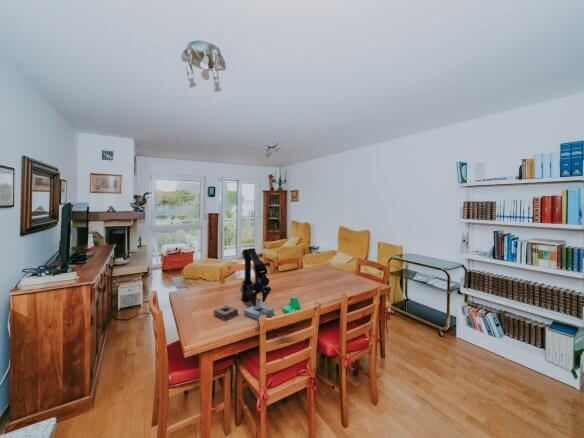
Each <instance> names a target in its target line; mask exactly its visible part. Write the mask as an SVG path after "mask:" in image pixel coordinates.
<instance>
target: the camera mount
mask: <svg viewBox="0 0 584 438" xmlns="http://www.w3.org/2000/svg"><path fill="white" fill-rule="evenodd" d="M281 309H282V311H283V312H284V313H285V314H286V313H289V312H293V311H296V310H300V309H301V310H302V307H301V305H300V302H299V299H298V297H297V296H293V297H291V298H289V303H288V305H285V306H283V307H282V308H281Z"/></svg>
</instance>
